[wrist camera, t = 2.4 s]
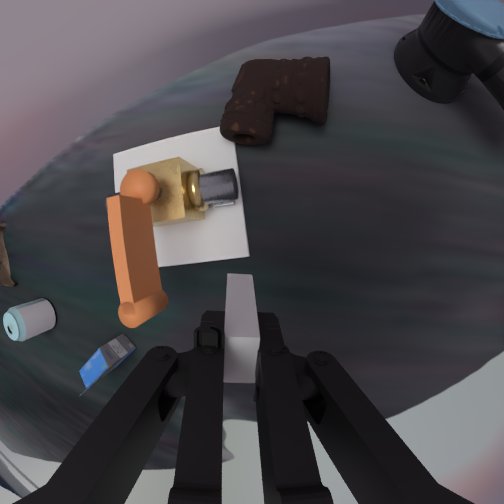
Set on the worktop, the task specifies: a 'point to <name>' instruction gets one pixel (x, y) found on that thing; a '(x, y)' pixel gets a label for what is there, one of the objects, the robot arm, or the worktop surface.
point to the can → (29, 319)
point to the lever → (136, 248)
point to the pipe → (275, 96)
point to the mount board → (216, 219)
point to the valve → (187, 191)
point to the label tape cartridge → (106, 359)
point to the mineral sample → (4, 261)
